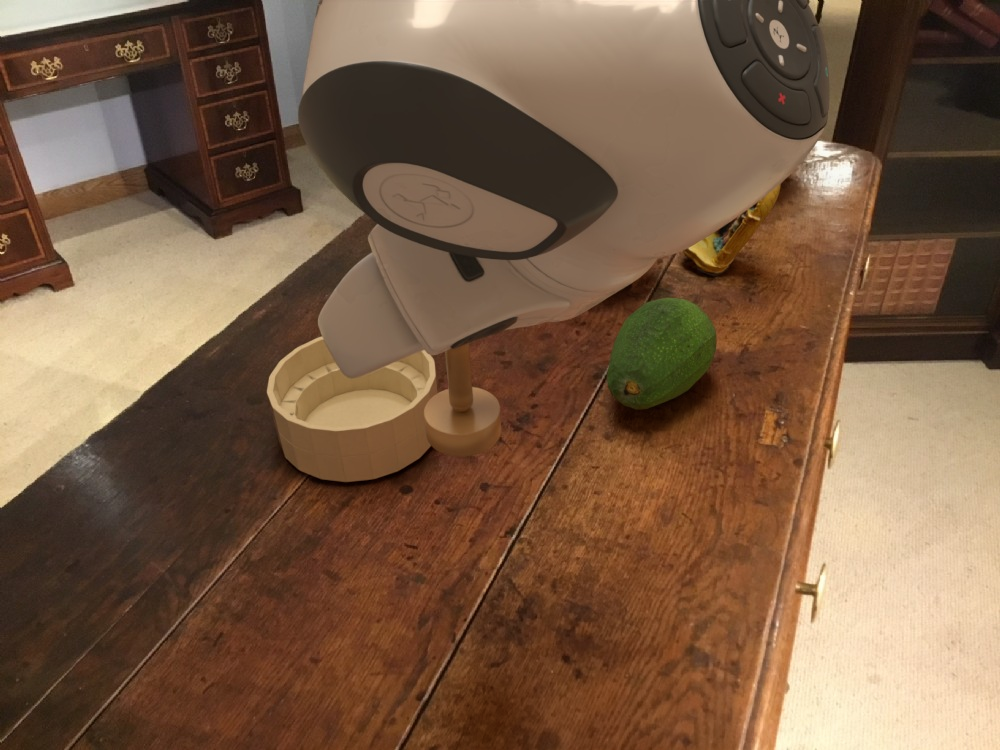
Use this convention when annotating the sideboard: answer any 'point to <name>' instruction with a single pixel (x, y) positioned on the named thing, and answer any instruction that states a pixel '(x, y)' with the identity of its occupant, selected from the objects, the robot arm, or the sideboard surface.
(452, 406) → the wooden dowel stand
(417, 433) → the mixing bowl
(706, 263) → the shrine
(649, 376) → the fruit
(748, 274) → the sideboard surface
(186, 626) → the sideboard surface
